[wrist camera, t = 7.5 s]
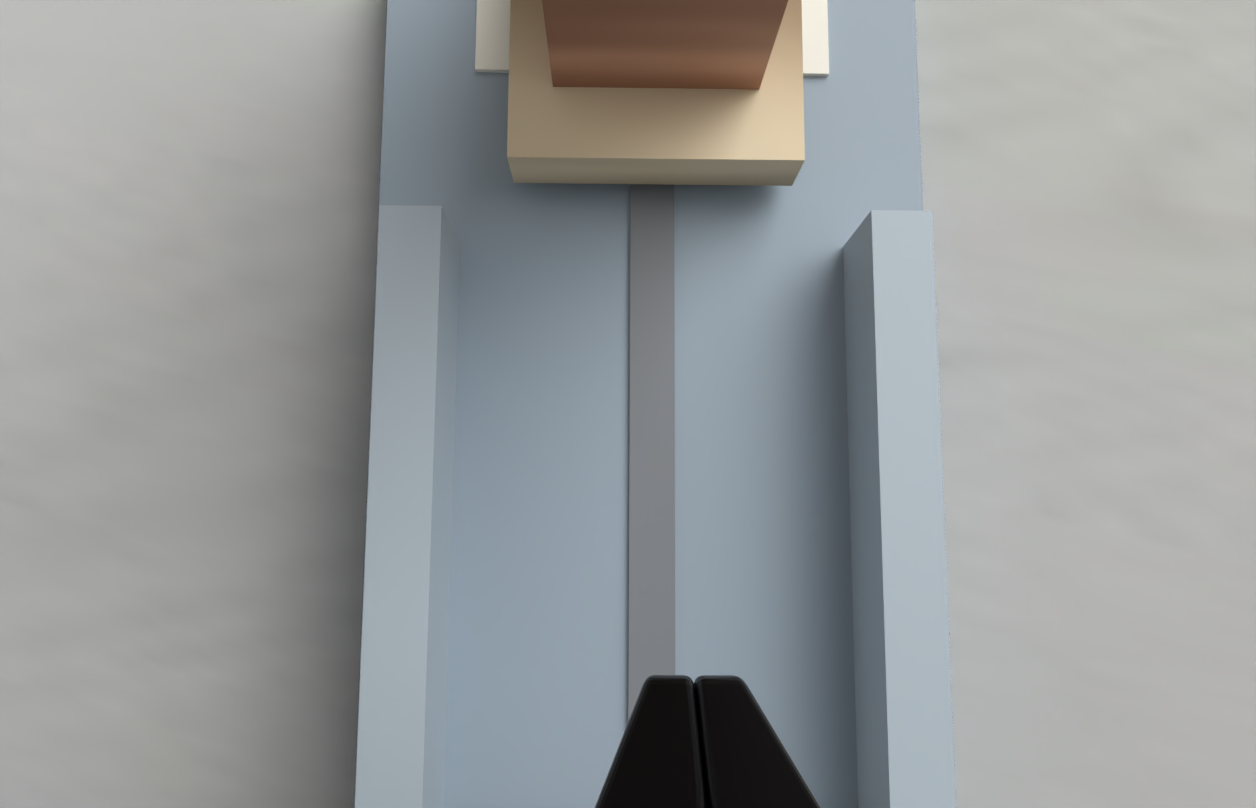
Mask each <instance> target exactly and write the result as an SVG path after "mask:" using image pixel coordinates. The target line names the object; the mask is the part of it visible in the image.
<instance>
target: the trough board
mask: <svg viewBox="0 0 1256 808" xmlns="http://www.w3.org/2000/svg"><path fill="white" fill-rule="evenodd" d="M801 1H802V47H803V93H804V139H805V161H804V163H803V165H802V167H801V169H800V171H799V173H798V175H797V177H796V179H795V181H794V183H793V185H792V186H758V185H662V184H566V183H514V182H513V178H512V174H511V170H510V167H509V163H508V159H507V131H508V87H509V43H510V0H387V24H386V48H385V73H384V97H383V121H382V145H381V169H380V193H379V217H378V242H377V266H376V290H375V314H374V338H373V362H372V387H371V411H370V435H369V459H368V483H367V507H366V531H365V556H364V580H363V604H362V628H361V652H360V676H359V701H358V725H357V749H356V773H355V797H354V808H595V806H596V803H597V800H598V798H599V795H600V793H601V790H602V788H603V785H604V783H605V780H606V777H607V775H608V772H609V770H610V767H611V765H612V762H613V760H614V757H615V754H616V752H617V749H618V747H619V744H620V742H621V739H622V737H623V734H624V731H625V729H626V726H627V724H628V721H629V719H630V716H631V714H632V711H633V708H634V706H635V703H636V701H637V698H638V696H639V693H640V691H641V688H642V686H643V683H644V681H645V680H646V679H647V678H648V677H649V676H651V675H686V676H688V677H690V678H691V679H692V681H693V683H694V681H695V679H696V678H697V677H699V676H702V675H734V676H738V677H740V678H741V679H742V680H743V681H744V682H745V683H746V684H747V686H748V687H749V689H750V691H751V692H752V694H753V696H754V697H755V699H756V701H757V702H758V704H759V706H760V707H761V709H762V711H763V712H764V714H765V716H766V717H767V719H768V721H769V722H770V724H771V726H772V727H773V729H774V731H775V732H776V734H777V736H778V737H779V739H780V741H781V742H782V744H783V746H784V747H785V749H786V751H787V752H788V754H789V756H790V757H791V759H792V761H793V762H794V764H795V765H796V767H797V769H798V770H799V772H800V774H801V775H802V777H803V779H804V780H805V782H806V784H807V785H808V787H809V789H810V790H811V792H812V794H813V795H814V797H815V799H816V800H817V802H818V804H819V805H820V807H821V808H956V785H955V760H954V736H953V711H952V686H951V661H950V637H949V612H948V587H947V562H946V537H945V513H944V488H943V463H942V438H941V414H940V389H939V364H938V339H937V314H936V290H935V265H934V240H933V215H932V211H923V197H922V172H921V146H920V120H919V95H918V69H917V43H916V18H915V0H801Z"/></svg>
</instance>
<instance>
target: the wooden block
mask: <svg viewBox="0 0 1256 808" xmlns="http://www.w3.org/2000/svg"><path fill="white" fill-rule="evenodd" d="M507 159H508V163H509V167H510V170H511V174H512V178H513V182H514V183H566V184H662V185H758V186H792V185H793V183H794V181H795V179H796V177H797V175H798V173H799V171H800V169H801V167H802V165H803V163H804V161H805V139H804V93H803V47H802V1H801V0H510V43H509V87H508V131H507Z"/></svg>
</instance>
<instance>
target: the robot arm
mask: <svg viewBox="0 0 1256 808" xmlns="http://www.w3.org/2000/svg"><path fill="white" fill-rule="evenodd" d="M595 808H821V807H820V805H819V804H818V802H817V800H816V799H815V797H814V795H813V794H812V792H811V790H810V789H809V787H808V785H807V784H806V782H805V780H804V779H803V777H802V775H801V774H800V772H799V770H798V769H797V767H796V765H795V764H794V762H793V761H792V759H791V757H790V756H789V754H788V752H787V751H786V749H785V747H784V746H783V744H782V742H781V741H780V739H779V737H778V736H777V734H776V732H775V731H774V729H773V727H772V726H771V724H770V722H769V721H768V719H767V717H766V716H765V714H764V712H763V711H762V709H761V707H760V706H759V704H758V702H757V701H756V699H755V697H754V696H753V694H752V692H751V691H750V689H749V687H748V686H747V684H746V683H745V682H744V681H743V680H742V679H741V678H740V677H738V676H734V675H702V676H699V677H697V678H696V679H695V681H694V683H693V681H692V679H691V678H690V677H688V676H686V675H651V676H649V677H648V678H647V679H646V680H645V681H644V683H643V686H642V688H641V691H640V693H639V696H638V698H637V701H636V703H635V706H634V708H633V711H632V714H631V716H630V719H629V721H628V724H627V726H626V729H625V731H624V734H623V737H622V739H621V742H620V744H619V747H618V749H617V752H616V754H615V757H614V760H613V762H612V765H611V767H610V770H609V772H608V775H607V777H606V780H605V783H604V785H603V788H602V790H601V793H600V795H599V798H598V800H597V803H596V806H595Z"/></svg>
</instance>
